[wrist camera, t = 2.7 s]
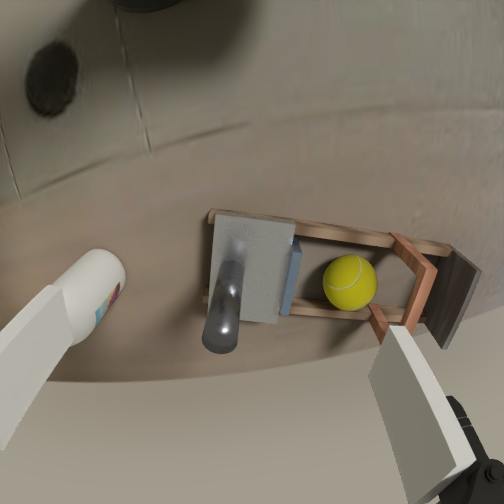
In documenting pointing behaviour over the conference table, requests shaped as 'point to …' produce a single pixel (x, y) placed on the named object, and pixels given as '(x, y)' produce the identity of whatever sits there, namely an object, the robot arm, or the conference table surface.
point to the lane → (346, 237)
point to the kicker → (249, 275)
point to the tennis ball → (350, 282)
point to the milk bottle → (90, 290)
